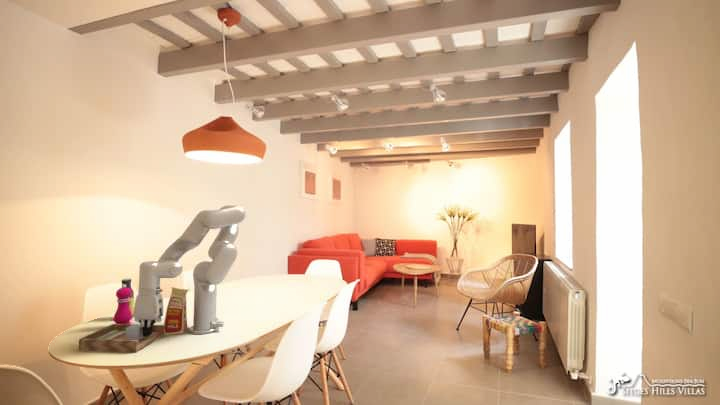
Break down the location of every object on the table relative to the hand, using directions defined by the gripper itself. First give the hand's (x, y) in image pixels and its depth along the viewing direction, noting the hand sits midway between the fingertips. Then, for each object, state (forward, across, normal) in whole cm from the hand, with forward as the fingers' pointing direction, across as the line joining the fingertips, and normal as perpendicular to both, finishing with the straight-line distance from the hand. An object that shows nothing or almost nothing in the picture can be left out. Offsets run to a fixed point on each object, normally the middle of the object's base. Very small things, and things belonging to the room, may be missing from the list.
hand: (147, 335), depth 141 cm
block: (+1, +5, 0) cm, 5 cm away
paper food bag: (+3, -4, -16) cm, 16 cm away
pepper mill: (+4, +23, -18) cm, 30 cm away
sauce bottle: (+4, +30, -30) cm, 43 cm away
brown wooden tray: (+3, +10, 0) cm, 10 cm away
